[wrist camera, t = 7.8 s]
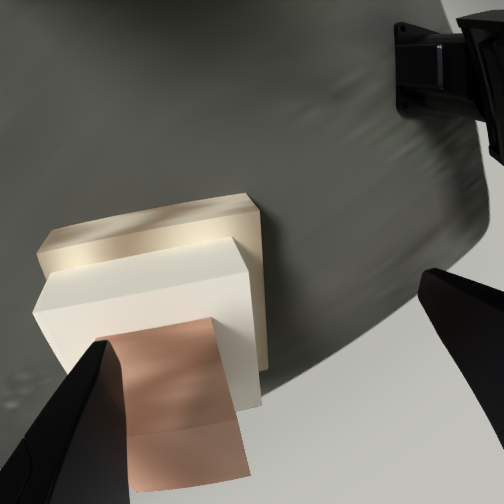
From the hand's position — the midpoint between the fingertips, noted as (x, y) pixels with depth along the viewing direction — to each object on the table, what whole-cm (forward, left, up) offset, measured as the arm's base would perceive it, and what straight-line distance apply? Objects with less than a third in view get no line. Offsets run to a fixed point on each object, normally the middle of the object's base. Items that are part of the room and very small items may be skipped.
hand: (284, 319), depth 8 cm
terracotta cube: (+4, +7, -5) cm, 10 cm away
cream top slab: (+5, +7, -9) cm, 12 cm away
